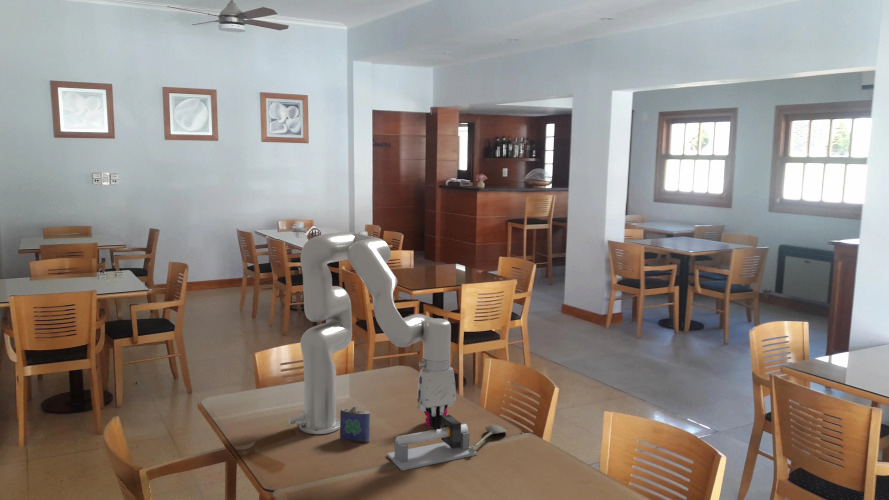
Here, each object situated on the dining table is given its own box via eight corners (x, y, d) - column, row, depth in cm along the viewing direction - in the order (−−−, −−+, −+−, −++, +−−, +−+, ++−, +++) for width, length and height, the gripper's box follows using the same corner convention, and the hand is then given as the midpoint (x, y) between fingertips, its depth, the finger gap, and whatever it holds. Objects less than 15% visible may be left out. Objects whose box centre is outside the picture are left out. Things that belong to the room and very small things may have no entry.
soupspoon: (510, 434, 205) (490, 431, 208) (510, 423, 205) (491, 420, 208) (481, 455, 186) (459, 451, 189) (481, 443, 185) (459, 439, 188)
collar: (452, 448, 187) (453, 424, 186) (441, 439, 193) (441, 415, 192) (460, 447, 188) (461, 423, 187) (448, 437, 194) (449, 414, 193)
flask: (371, 440, 197) (371, 405, 196) (367, 444, 195) (367, 408, 193) (342, 436, 200) (341, 401, 199) (338, 440, 197) (337, 405, 196)
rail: (401, 470, 178) (402, 444, 177) (387, 455, 187) (387, 430, 186) (477, 454, 189) (477, 429, 188) (459, 441, 198) (460, 417, 197)
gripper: (418, 371, 178) (417, 437, 181) (466, 364, 185) (465, 428, 188) (406, 363, 185) (405, 427, 187) (453, 357, 192) (452, 419, 194)
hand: (435, 427), depth 187 cm, fingers closed
